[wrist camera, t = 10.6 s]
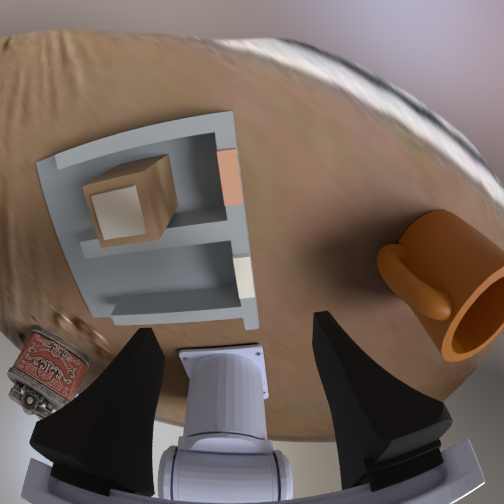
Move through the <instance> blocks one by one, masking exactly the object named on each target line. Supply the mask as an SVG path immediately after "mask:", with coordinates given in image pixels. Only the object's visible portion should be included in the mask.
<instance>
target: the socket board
mask: <svg viewBox="0 0 504 504" xmlns="http://www.w3.org/2000/svg"><path fill="white" fill-rule="evenodd" d="M165 154H169V158H170V164H171V169H172V174H173V180H174V185H175V190H176V195H177V200H178V205H179V206H178V208H177V210H176V211H175V213H174V215H173V217H172V218H171V220H170V222H169V224H168V225H167V227H166V229H165V231H164V233H163V235H162V236H161V238H160V240H154V241H147V242H139V243H132V244H125V245H118V246H111V247H105V248H101V246H100V243H99V240H98V237H97V234H96V231H95V228H94V225H93V222H92V218H91V215H90V212H89V209H88V205H87V202H86V198H85V194H84V191H83V187H82V186H84V185H85V184H87V183H88V182H90V181H92V180H93V179H95V178H97V177H98V176H100V175H102V174H103V173H105V172H107V171H109V170H110V169H112V168H114V167H116V166H118V165H120V164H124V163H128V162H132V161H137V160H141V159H146V158H150V157H155V156H160V155H165ZM36 166H37V170H38V174H39V178H40V182H41V186H42V189H43V193H44V196H45V200H46V203H47V206H48V210H49V213H50V216H51V219H52V222H53V225H54V228H55V231H56V234H57V236H58V239H59V242H60V244H61V247H62V250H63V252H64V255H65V257H66V260H67V262H68V265H69V267H70V269H71V272H72V274H73V276H74V279H75V281H76V283H77V285H78V287H79V290H80V292H81V294H82V296H83V298H84V300H85V302H86V304H87V306H88V308H89V310H90V312H91V314H92V316H93V318H99V317H112V319H113V321H114V323H115V325H143V324H165V323H182V322H197V321H210V320H222V319H233V318H243V319H244V325H245V330H251V329H259V321H258V309H257V299H256V291H255V282H254V274H253V266H252V258H251V250H250V242H249V234H248V226H247V218H246V210H245V201H244V193H243V185H242V177H241V169H240V161H239V153H238V144H237V136H236V128H235V120H234V112H233V111H227V112H220V113H213V114H207V115H200V116H195V117H189V118H184V119H178V120H173V121H168V122H164V123H159V124H155V125H150V126H146V127H142V128H138V129H134V130H130V131H127V132H123V133H119V134H116V135H112V136H109V137H105V138H102V139H99V140H96V141H93V142H90V143H87V144H84V145H81V146H78V147H75V148H72V149H69V150H66V151H64V152H61V153H58V154H56V155H53V156H51V157H48V158H46V159H43V160H41V161H39V162H36Z"/></svg>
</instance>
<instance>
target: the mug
mask: <svg viewBox="0 0 504 504" xmlns="http://www.w3.org/2000/svg"><path fill="white" fill-rule="evenodd" d="M377 265H378V269H379V272H380V274H381V276H382V277H383V279H384V281H385V282H386V283H387V285H388V286H389V287H390V288H391V290H392V291H393V292H394V293H395V294H396V295H397V296H398V297H399V298H400V299H401V300H403V301H404V302H405V303H406V304H408V305H409V306H410V308H411V309H412V311H413V312H414V314H415V315H416V316H417V318H418V319H419V321H420V322H421V324H422V325H423V327H424V328H425V330H426V331H427V333H428V335H429V336H430V338H431V339H432V341H433V342H434V344H435V345H436V347H437V349H438V350H439V352H440V353H441V355H442V357H443V358H444V359H445V360H447V361H449V362H456V361H461V360H464V359H466V358H468V357H470V356H472V355H474V354H475V353H477V352H478V351H480V350H481V349H483V348H484V347H485V346H486V345H487V344H489V343H490V342H491V341H492V340H493V339H494V338H495V337H496V336H497V335H498V334H499V332H500V331H501V330H502V329H503V328H504V251H503V250H502V249H501V248H500V247H498V246H497V245H496V244H495V243H493V242H492V241H491V240H489V239H488V238H487V237H486V236H484V235H483V234H482V233H480V232H479V231H478V230H476V229H475V228H473V227H472V226H471V225H469V224H468V223H466V222H465V221H464V220H462V219H461V218H459V217H458V216H456V215H455V214H453V213H451V212H448V211H446V210H435V211H432V212H429V213H427V214H425V215H423V216H421V217H420V218H418V219H417V220H416V221H415V222H414V223H412V224H411V225H410V226H409V227H408V229H407V230H406V231H405V233H404V234H403V235H402V237H401V238H400V239H399V242H398V244H388V245H386V246H384V247H382V248H381V249H380V250H379V252H378V256H377Z"/></svg>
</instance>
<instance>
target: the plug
mask: <svg viewBox="0 0 504 504" xmlns="http://www.w3.org/2000/svg"><path fill="white" fill-rule="evenodd" d="M82 187H83V191H84V194H85V198H86V202H87V205H88V209H89V212H90V215H91V218H92V222H93V225H94V228H95V231H96V234H97V237H98V240H99V243H100V246H101V248H105V247H111V246H118V245H125V244H132V243H139V242H147V241H154V240H160V238H161V236H162V235H163V233H164V231H165V229H166V227H167V225H168V224H169V222H170V220H171V218H172V217H173V215H174V213H175V211H176V210H177V208H178V206H179V205H178V200H177V195H176V190H175V185H174V180H173V174H172V169H171V164H170V158H169V154H165V155H160V156H155V157H150V158H146V159H141V160H137V161H132V162H128V163H124V164H120V165H118V166H116V167H114V168H112V169H110V170H109V171H107V172H105V173H103V174H102V175H100V176H98V177H97V178H95V179H93V180H92V181H90V182H88V183H87V184H85V185H84V186H82Z"/></svg>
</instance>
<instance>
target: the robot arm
mask: <svg viewBox="0 0 504 504" xmlns="http://www.w3.org/2000/svg"><path fill="white" fill-rule="evenodd" d="M312 346H313V351H314V357H315V361H316V366H317V369H318V372H319V375H320V378H321V381H322V384H323V387H324V390H325V394H326V397H327V400H328V403H329V406H330V410H331V415H332V420H333V425H334V431H335V437H336V443H337V449H338V457H339V464H340V472H341V484H342V490H341V491H337V492H332V493H327V494H322V495H317V496H311V497H305V498H298V499H292V497H293V478H292V471H291V466H290V463H289V460H288V458H287V457H286V456H285V455H284V454H283V453H282V452H281V451H279V450H273V447H272V441H271V440H267V433H266V421H265V409H264V399H267V398H268V397H269V396H268V387H267V379H266V371H265V363H264V355H263V347H262V346H261V345H259V344H256V345H246V346H234V347H222V348H207V349H188V350H180V351H179V357H180V359H181V361H182V364H183V366H184V368H185V370H186V373H187V375H188V377H189V379H190V382H189V390H188V398H187V406H186V415H185V424H184V433H183V437H182V436H180V437H179V441H178V446H170V447H169V448H168V449H167V450H165V451H164V452H163V454H162V456H161V460H160V465H159V471H158V496H159V498H153V497H151V496H153V495H154V494H155V492H154V483H153V471H152V470H153V469H152V440H153V424H154V418H155V412H156V408H157V403H158V398H159V394H160V389H161V384H162V380H163V373H164V362H165V356H164V354H163V352H162V350H161V348H160V346H159V344H158V341H157V339H156V337H155V335H154V332H153V330H152V328H139V329H138V331H137V332H136V333H135V334H134V335H133V337H132V338H131V339H130V340H129V342H128V343H127V344H126V345H125V347H124V348H123V349H122V350H121V352H120V353H119V354H118V355H117V357H116V358H115V359H114V360H113V361H112V362H111V364H110V365H109V366H108V367H107V368H106V369H105V370H104V371H103V373H102V374H101V375H100V376H99V377H98V378H97V379H96V380H95V381H94V382H93V383H92V384H91V385H90V386H89V387H88V388H87V389H85V390H84V391H83V392H82V393H81V394H79V395H78V396H77V397H76V398H74V399H73V400H72V401H71V402H69V403H68V404H66V405H65V406H64V407H62V408H61V409H59V410H57V411H56V412H54V413H53V414H51V415H49V416H47V417H45V418H43V419H41V420H39V421H37V422H36V425H35V428H34V430H33V433H32V436H31V439H30V442H29V443H30V445H31V446H32V447H33V448H34V449H35V450H36V451H37V452H39V453H40V454H41V455H43V456H44V457H46V458H47V459H49V460H50V461H52V462H53V467H51V466H49V465H47V464H45V463H42V462H40V461H38V460H35V459H33V458H31V460H30V463H29V466H28V470H27V473H26V477H25V481H24V485H23V489H22V493H21V497H22V498H23V499H25V500H27V501H28V502H30V503H32V504H452V503H454V502H456V501H457V500H459V499H461V498H462V497H464V496H466V495H467V494H469V493H470V492H472V491H474V490H475V489H477V488H478V487H480V486H481V485H483V484H484V483H485V479H484V476H483V473H482V470H481V468H480V465H479V463H478V460H477V458H476V455H475V453H474V450H473V448H472V445H471V443H470V441H469V439H465V440H463V441H461V442H459V443H458V444H456V445H454V446H452V447H450V448H448V449H446V450H445V451H443V452H442V453H441V452H440V450H439V447H440V446H441V442H440V440H439V438H440V437H441V436H442V435H443V434H444V433H445V432H446V431H447V430H448V429H449V427H450V426H451V424H452V422H453V420H452V418H451V416H450V414H449V412H448V410H447V408H446V407H445V405H444V403H443V402H441V401H438V400H436V399H434V398H431V397H429V396H427V395H424V394H422V393H421V392H419V391H417V390H415V389H413V388H411V387H410V386H408V385H407V384H405V383H403V382H402V381H400V380H399V379H397V378H395V377H394V376H393V375H391V374H390V373H389V372H387V371H386V370H385V369H383V368H382V367H381V366H380V365H378V364H377V363H376V362H375V361H374V360H373V359H371V358H370V357H369V356H368V355H367V354H366V353H365V352H364V351H363V350H362V349H361V348H360V347H359V346H358V345H357V344H356V343H355V342H354V341H353V340H352V339H351V338H350V337H349V335H348V334H347V333H346V332H345V331H344V330H343V329H342V327H341V326H340V325H339V324H338V323H337V321H336V320H335V319H334V318H333V316H332V315H331V314H330V312H328V311H322V312H316V313H314V318H313V339H312ZM257 352H259V353H257ZM185 357H186V358H185Z"/></svg>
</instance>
